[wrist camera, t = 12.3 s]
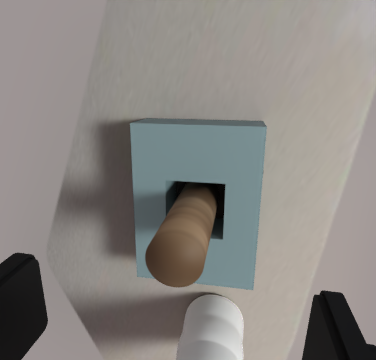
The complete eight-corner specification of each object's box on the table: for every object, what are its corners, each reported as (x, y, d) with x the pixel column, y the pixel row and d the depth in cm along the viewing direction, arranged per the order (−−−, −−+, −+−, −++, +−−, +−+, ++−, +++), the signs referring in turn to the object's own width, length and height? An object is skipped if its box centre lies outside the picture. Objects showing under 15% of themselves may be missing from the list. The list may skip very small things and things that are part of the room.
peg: (183, 174, 33) (143, 231, 20) (220, 176, 32) (204, 236, 19) (183, 208, 34) (145, 283, 21) (219, 211, 33) (203, 290, 20)
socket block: (146, 118, 32) (130, 123, 27) (263, 121, 30) (266, 126, 25) (150, 252, 36) (137, 276, 32) (251, 262, 34) (253, 289, 30)
